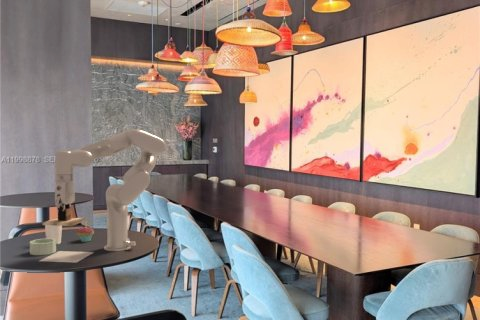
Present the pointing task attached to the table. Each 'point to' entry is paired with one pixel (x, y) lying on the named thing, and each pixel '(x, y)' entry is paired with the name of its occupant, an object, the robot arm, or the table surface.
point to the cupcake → (85, 233)
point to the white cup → (53, 232)
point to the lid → (67, 222)
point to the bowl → (42, 246)
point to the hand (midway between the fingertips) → (64, 218)
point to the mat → (66, 256)
